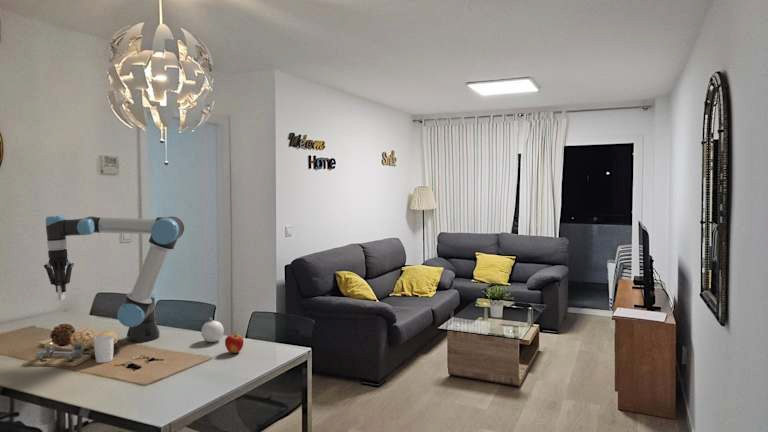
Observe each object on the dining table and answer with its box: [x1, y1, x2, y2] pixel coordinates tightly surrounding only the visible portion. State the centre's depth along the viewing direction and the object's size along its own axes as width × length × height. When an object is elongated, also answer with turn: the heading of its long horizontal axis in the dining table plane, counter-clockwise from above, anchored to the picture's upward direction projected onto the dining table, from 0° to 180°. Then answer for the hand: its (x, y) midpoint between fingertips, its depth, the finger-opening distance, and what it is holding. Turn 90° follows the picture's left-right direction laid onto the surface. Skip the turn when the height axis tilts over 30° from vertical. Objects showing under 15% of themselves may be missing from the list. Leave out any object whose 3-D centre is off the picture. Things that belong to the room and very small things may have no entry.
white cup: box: [93, 335, 115, 364], centre depth 238 cm, size 8×8×10 cm
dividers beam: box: [35, 342, 85, 361], centre depth 238 cm, size 20×8×6 cm, turn 87°
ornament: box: [201, 317, 225, 343], centre depth 265 cm, size 10×10×12 cm
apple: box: [224, 331, 244, 354], centre depth 248 cm, size 8×8×10 cm
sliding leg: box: [38, 341, 56, 360], centre depth 238 cm, size 3×8×6 cm, turn 177°
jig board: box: [22, 354, 91, 367], centre depth 237 cm, size 23×12×1 cm, turn 87°
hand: (61, 299), depth 252 cm, fingers closed
